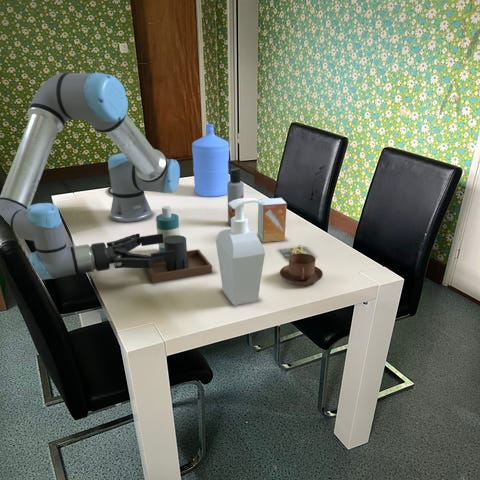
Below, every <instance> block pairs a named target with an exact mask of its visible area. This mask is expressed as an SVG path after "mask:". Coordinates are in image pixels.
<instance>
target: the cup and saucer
mask: <svg viewBox="0 0 480 480" xmlns="http://www.w3.org/2000/svg"><path fill="white" fill-rule="evenodd" d="M309 254H310V253H309ZM309 254H302V253H300V254H294V255H291V256H290V257H289V259H288V264H287V265H285V266H283V267H281V269H280V271H279V274H280V277H281V278H282V279H283V280H285V281H286V282H287V283H291V284H294V285H312V284H315V283H317V282H318V281H320V280H321V279H322V278H323V275H324V273H323V270H322V269H321V268H319V267H317V266H316V257H315V256H313V255H312V254H310V255H309Z"/></svg>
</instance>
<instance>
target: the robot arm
mask: <svg viewBox="0 0 480 480" xmlns="http://www.w3.org/2000/svg"><path fill="white" fill-rule="evenodd" d="M126 94H127V92H126V89H125V87H124V86H123V84H122V82H121V81H120V80H119V79H118V78H117V77H115V76H114V75H111V74H108V73H102V72H60V73H56V74H54V75H53V76H50V77H49V78H48V79H46V81H45V82H43V84H42V85H41V86H40V87H39V88H38V90H37V91H36V92H35V94H34V95H33V97H32V100H31V102H30V104H29V107H28V109H27V116H28V120H27V123H26V127H25V129H24V131H23V135H22V137H21V139H20V142H19V145H18V148H17V151H16V153H15V155H14V158H13V160H12V163H11V166H10V169H9V172H8V174H7V176H6V179H5V182H4V185H3V187H2V190H1V193H0V215H1V216H2V217H3V218H4V220H5V221H6V222H7V223H8V224H9V225H10V226H11V227H12V229H13V230H14V232H15V233H16V234H17V235H18V237H19V238H20V240H27V241H32V242H33V243H34V246H35V251H33V252H31V253H30V254H29V259H30V263H31V262H32V264H33V266H34V268H35V270H36V272H37V273H38V275H39V277H40V278H41V280H40V281H43V280H55V279H58V278H65V277H70V276H75V275H86V274H87V273H93V272H95V271H97V272H101V271H107V270H110V268H111V265H112V264H113V266H114V269H146V268H147V269H150V268H152V267H153V266H152V264H155V263H161V262H167V261H173V260H175V251H174V250H172V251H165V252H154V253H150V255H148V254H141V253H135V252H130V251H132V250H133V249H136V248H137V247H139V246H140V245H141V247H145V246H152V245H159V244H160V243H164V242H163V234H157V233H156V234H150V235H149V234H148V235H142V236H141V234H140V233H135V234H131V235H129V236H125V237H122V238H119V239H116V240H114V241H108V242H106V243H105V242H95V243H91V245H89V244H81V245H74V246H69V247H68V246H67V241H66V237H65V232H64V227H63V221H62V218H61V215H60V212H59V207H58V206H57V205H55V204H54V203H50V202H43V203H42V202H39V203H34V204H32V202H33V200H34V197H35V194H36V191H37V190H38V189H37V188H38V186H39V183H40V181H41V178H42V175H43V173H44V170H45V167H46V164H47V163H48V162H47V161H48V159H49V156H50V153H51V151H52V148H53V146H54V142H55V140H56V138H57V134H58V133H59V132H61V131H63V129H64V127H65V124H66V123H67V122H68V121H71V120H74V121H75V120H79V121H86V122H87V123H88V124H89V125H90V126H91V127H92V128H93V130H95V131H97V132H98V133H100V134H106V136H107V137H108V138H109V139H110V140H111V142H113V144H114V145H115V146H116V147H117V148H118V149H119V151H121V152H119V153H116V154H113V155H111V156H109V158H108V159H107V164H108V166H107V167H108V175H109V179H110V181H108V182H107V185H109V186H110V187H109V188H108V190H107V191H108V194H110V195H111V196H112V201H111V207H110V218H111V220H113V221H116V222H120V223H135V222H140V221H145V220H147V219H149V218H150V217H151V216H152V209H151V206H150V204H149V202H148V200H147V198H146V195H145V192H152V193H161V194H174V192H175V191H177V188H178V187H179V183H180V175H181V171H180V170H181V168H180V164H179V162H178V161H177V160H176V159H173V158H167V157H166V155H165V154H164V153H163V152H162V151H161V150H159V149H155V148H154V147H153V146H152V145H151V144H150V141H148V139H147V138H146V137H145V135H143V132H142V131H141V130H140V129H139V128H138V126H137V125H136V124H135V122H134V121H133V120H132V119H131V117H130V116H129V115H128V108H129V99H128V96H126ZM19 238H18V239H19Z"/></svg>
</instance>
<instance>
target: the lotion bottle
mask: <svg viewBox="0 0 480 480" xmlns="http://www.w3.org/2000/svg"><path fill="white" fill-rule="evenodd" d="M241 176H242V173H241V169H240V167H233V168H231V169H229V182H228V183H227V194H226V195H227V224H228V225H229V226H230V227H231V218H233V217H235V209H233V208H232V207H231V206H229V204H228V203H229V202H231V201H233V200H236V199H240V198H244V182H243V181H242V177H241Z"/></svg>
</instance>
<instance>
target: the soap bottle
mask: <svg viewBox="0 0 480 480" xmlns="http://www.w3.org/2000/svg"><path fill="white" fill-rule="evenodd" d="M251 203H256V204H258V203H259V204H263V202H262V201H260V200H259V199H257V198H253V197H243V198H240V199H236V200H233V201H231V202H229V203H228V202H227V205H228V204H229V206H231V207H232V208H233V209H235V217H233V218H231V226H230V228H228V229H222V230H221V231H219V232H218V234H217V236H216V239H215V244H216V251H217V259H218V265H219V266H218V267H219V273H220V279H221V280H220V281H221V287H222V293H224V295H225V296H226V297H227V298H228V300H229V302H230V303H231V304H232V305H233V306H238V305H244V304H249V303H252V302H253V303H254V302H257V301H258V299H259V294H260V288H261V282H262V274H263V268H264V262H265V255H266V253H265V250H264V249H265V248H264V246H263V244H262V241H261V240H260V238H259V237H258V234H257V232H255V231H254V230H253V229H252V228H251V227H249V218H248V217H246V216H244V206H245V205H246V204H251Z"/></svg>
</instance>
